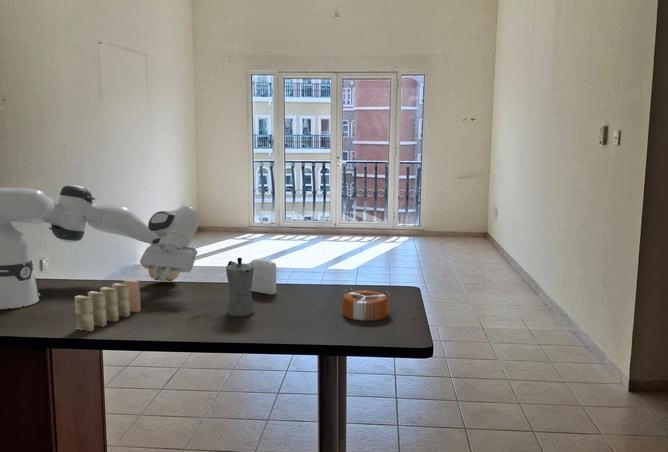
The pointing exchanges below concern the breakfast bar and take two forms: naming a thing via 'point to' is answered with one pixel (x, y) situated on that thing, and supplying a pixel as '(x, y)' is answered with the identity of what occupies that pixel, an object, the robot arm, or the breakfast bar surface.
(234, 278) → the coffeepot
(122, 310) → the domino
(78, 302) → the domino
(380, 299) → the coil
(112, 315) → the domino
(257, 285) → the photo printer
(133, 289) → the domino
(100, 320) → the domino
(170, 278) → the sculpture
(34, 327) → the breakfast bar surface
